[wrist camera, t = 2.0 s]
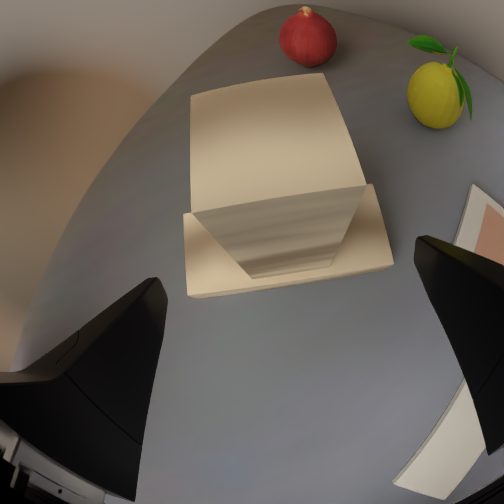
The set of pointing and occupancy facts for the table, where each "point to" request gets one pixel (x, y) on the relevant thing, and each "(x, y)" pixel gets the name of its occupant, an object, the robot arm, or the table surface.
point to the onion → (308, 38)
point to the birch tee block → (276, 191)
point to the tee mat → (461, 406)
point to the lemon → (437, 88)
